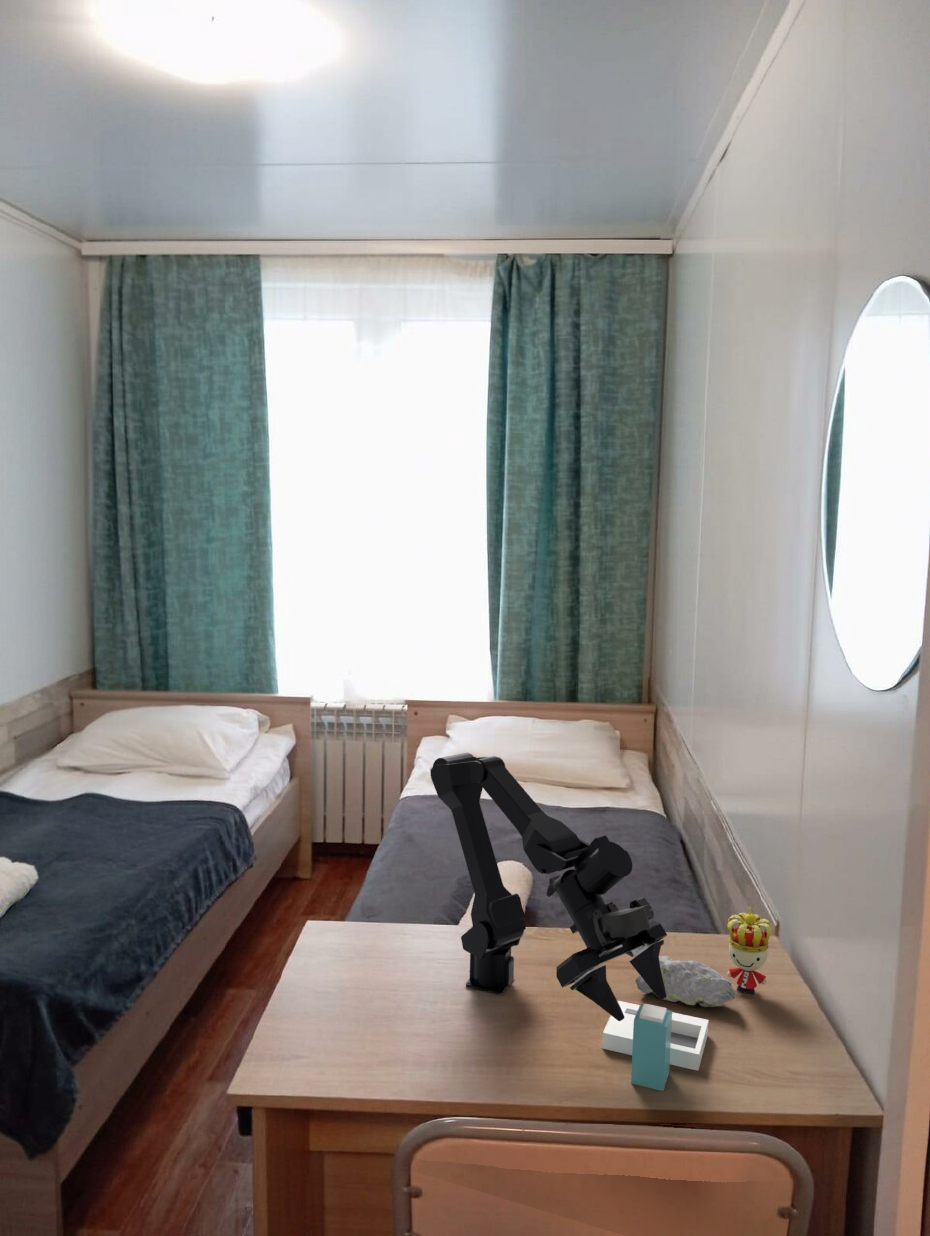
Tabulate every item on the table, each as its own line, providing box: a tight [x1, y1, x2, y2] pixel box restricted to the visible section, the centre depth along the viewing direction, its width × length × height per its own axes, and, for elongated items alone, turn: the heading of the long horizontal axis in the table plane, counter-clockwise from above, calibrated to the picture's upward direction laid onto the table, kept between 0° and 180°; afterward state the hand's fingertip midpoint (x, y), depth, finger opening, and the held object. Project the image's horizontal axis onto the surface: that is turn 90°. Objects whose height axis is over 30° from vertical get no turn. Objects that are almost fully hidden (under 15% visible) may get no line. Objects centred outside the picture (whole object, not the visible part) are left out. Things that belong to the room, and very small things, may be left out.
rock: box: [635, 955, 736, 1008], centre depth 156 cm, size 16×7×7 cm, turn 64°
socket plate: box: [601, 1000, 709, 1072], centre depth 143 cm, size 14×10×3 cm
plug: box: [630, 1003, 673, 1092], centre depth 133 cm, size 4×4×10 cm
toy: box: [726, 904, 773, 996], centre depth 158 cm, size 7×7×15 cm
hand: (643, 1009), depth 134 cm, fingers open, 9 cm apart
